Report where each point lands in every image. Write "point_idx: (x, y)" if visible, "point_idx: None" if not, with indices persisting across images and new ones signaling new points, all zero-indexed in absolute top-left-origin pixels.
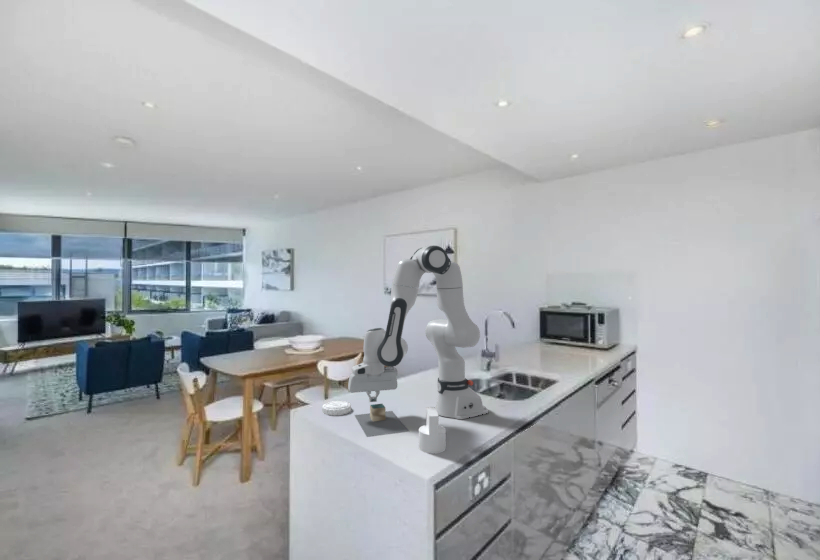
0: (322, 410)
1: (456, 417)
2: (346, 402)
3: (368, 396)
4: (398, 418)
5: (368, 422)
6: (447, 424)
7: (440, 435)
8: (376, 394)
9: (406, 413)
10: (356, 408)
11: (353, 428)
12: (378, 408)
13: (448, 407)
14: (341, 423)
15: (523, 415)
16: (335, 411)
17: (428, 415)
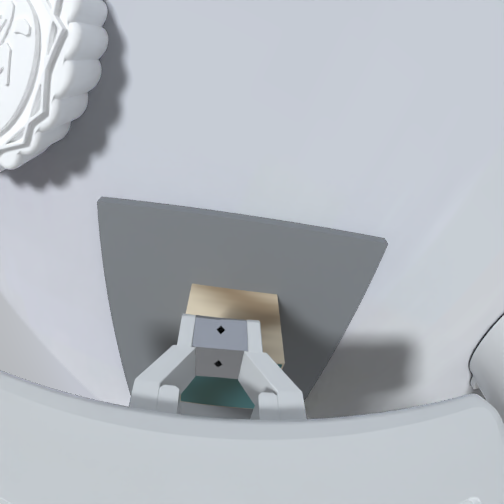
0: None
1: (472, 381)
2: (50, 15)
3: (168, 354)
4: (332, 351)
5: (161, 337)
6: (421, 401)
7: None
8: (257, 397)
9: (427, 289)
10: (169, 13)
11: (90, 336)
12: (216, 404)
13: (487, 390)
14: (34, 264)
15: None
16: None
17: None
